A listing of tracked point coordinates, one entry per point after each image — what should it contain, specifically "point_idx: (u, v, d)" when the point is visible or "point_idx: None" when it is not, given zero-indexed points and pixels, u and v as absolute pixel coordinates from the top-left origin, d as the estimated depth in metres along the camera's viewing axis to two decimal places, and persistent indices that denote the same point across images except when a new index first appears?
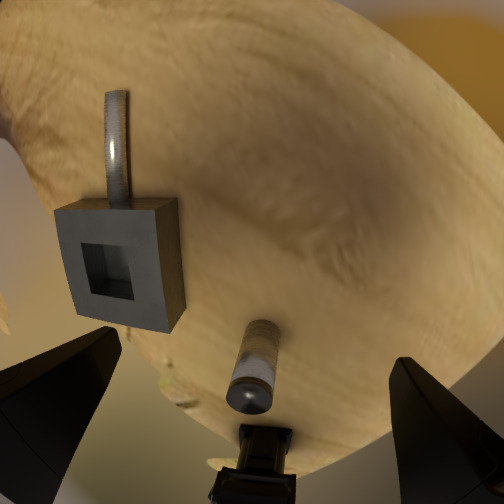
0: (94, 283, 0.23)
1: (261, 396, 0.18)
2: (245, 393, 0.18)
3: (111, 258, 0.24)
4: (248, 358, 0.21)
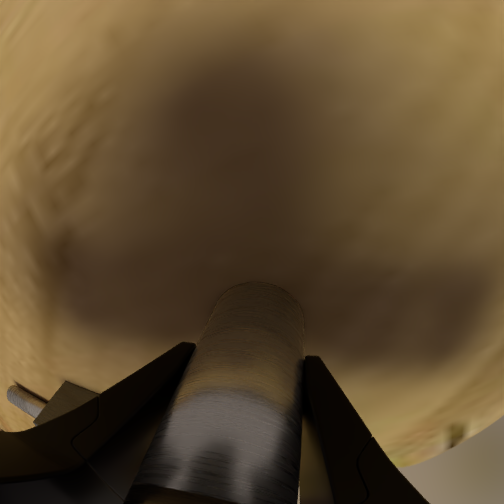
0: None
1: None
2: None
3: None
4: None
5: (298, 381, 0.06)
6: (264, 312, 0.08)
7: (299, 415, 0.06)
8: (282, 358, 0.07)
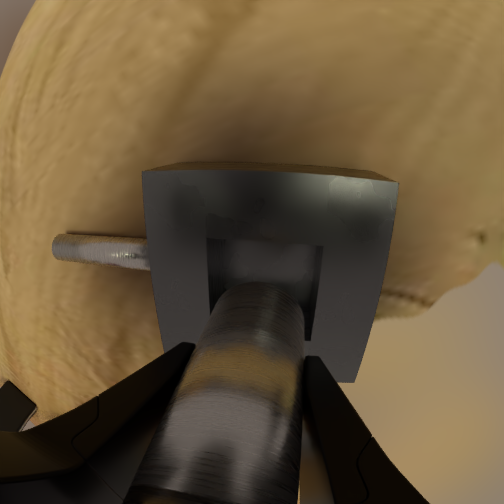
0: None
1: None
2: None
3: None
4: None
5: (298, 382, 0.06)
6: (264, 312, 0.08)
7: (298, 415, 0.06)
8: (282, 358, 0.07)
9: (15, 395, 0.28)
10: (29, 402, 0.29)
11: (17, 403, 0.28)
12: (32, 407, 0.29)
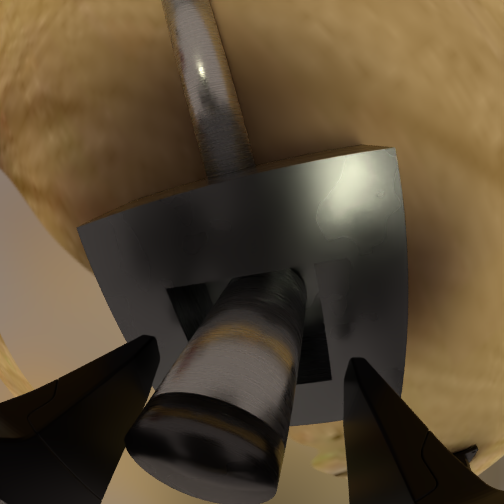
0: None
1: (153, 445, 0.04)
2: (159, 467, 0.05)
3: None
4: None
5: (296, 333, 0.08)
6: (270, 280, 0.10)
7: (294, 357, 0.07)
8: (282, 312, 0.08)
9: None
10: None
11: None
12: None
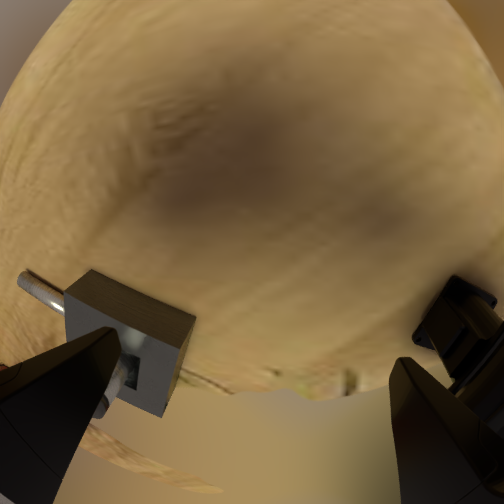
0: (133, 382, 0.22)
1: None
2: None
3: None
4: None
5: None
6: None
7: None
8: None
9: None
10: None
11: None
12: None
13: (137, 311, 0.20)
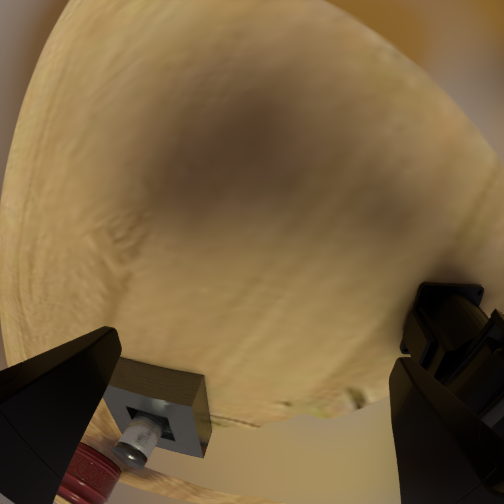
0: (172, 435, 0.25)
1: (120, 458, 0.20)
2: (130, 464, 0.20)
3: None
4: None
5: (139, 416, 0.23)
6: None
7: (135, 423, 0.22)
8: (136, 415, 0.24)
9: None
10: None
11: None
12: None
13: (154, 382, 0.24)
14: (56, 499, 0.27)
